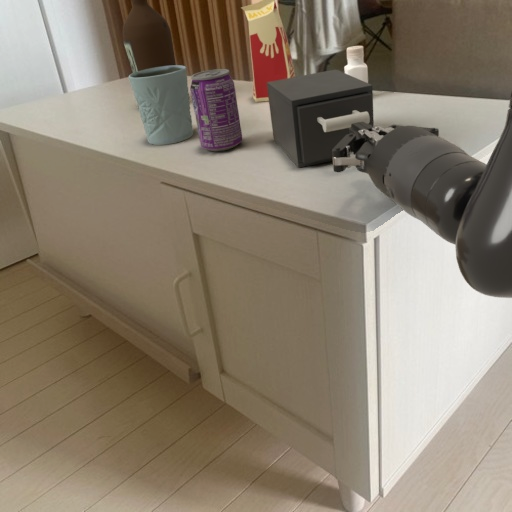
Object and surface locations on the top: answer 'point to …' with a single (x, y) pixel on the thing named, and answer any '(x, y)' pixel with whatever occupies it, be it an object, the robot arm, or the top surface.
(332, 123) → the drawer
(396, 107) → the top surface
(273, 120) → the cabinet
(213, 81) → the beverage can
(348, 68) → the pepper shaker
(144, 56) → the olive oil
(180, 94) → the embossed ceramic cup
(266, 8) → the milk carton
